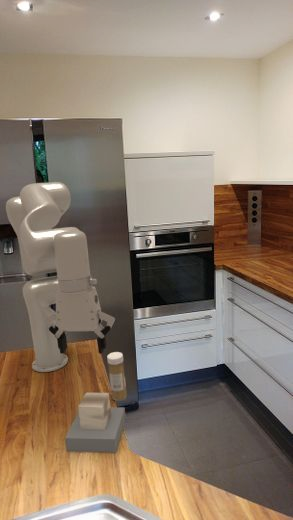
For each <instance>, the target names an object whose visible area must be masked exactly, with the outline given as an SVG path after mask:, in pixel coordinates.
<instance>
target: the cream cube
mask: <svg viewBox="0 0 293 520" xmlns="http://www.w3.org/2000/svg"><path fill="white" fill-rule="evenodd" d="M110 407H111V402H110V392H86V393H84V396H83V397H82V399H81V401H80V403H79V404H78V411H79V418H80V426H81V429H96V430H105V428H106V426H107V423H108V421H109V418H110V416H111V409H110Z"/></svg>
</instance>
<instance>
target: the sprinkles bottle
mask: <svg viewBox="0 0 293 520" xmlns="http://www.w3.org/2000/svg"><path fill="white" fill-rule="evenodd" d="M106 358H107V364H108V373H109V375H108V376H109V383H110V389H111V390H110V391H111V399H112V400H113V401H116V402H121V401H123V400H126V398H128V393H127V387H126V386H127V385H126V384H127V383H126V376H125V368H124V355H123V352H119V351H114V352H110V353H109V354H107V357H106Z"/></svg>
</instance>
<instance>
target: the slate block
mask: <svg viewBox="0 0 293 520" xmlns="http://www.w3.org/2000/svg"><path fill="white" fill-rule="evenodd" d="M110 409H111V416H110V418H109V421H108V423H107V426H106V428H105V430H96V429H81V426H80V418H79V410H78V412H77V413H76V415H75V418H74V420H73V421H72V424H70V427H69V430H68V431H67V433H66V434H65V437H64V440H65V448H66V449H65V450H66V452H74V453H77V452H78V453H111V454H112V453H113V454H114V453H115V454H116V453H117V451H118V449H119V445H120V441H121V437H122V434H123V430H124V427H125V423H126V410H125V409H126V408H125V407H121V406H120V407H113V406H110Z"/></svg>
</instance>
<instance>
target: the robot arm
mask: <svg viewBox="0 0 293 520" xmlns="http://www.w3.org/2000/svg"><path fill="white" fill-rule="evenodd" d="M71 202H72V199H71V192H70V190H69V188H68V187H67V185H66V184H65V183H63V182H61V181H51V182H36V183H35V182H34V183H29V184H26V185H25V186H23V187H22V189H21V190H20V193H19V196H14V197H11V198H10V199H8V200H7V201H6V203H5V211H6V215H7V219H8V221H9V223H10V225H11V226H12V228H13V231H14V232H15V234H16V236H17V242H18V246H19V252H20V257H21V264H22V268H23V270H24V271H23V272H24V273H25V274H26V275H28V276H39V275H45V274H46V275H47V274H52V273H56V275H53V276H46V277H40V278H36V279H32V280H29V281H27V282H25V284H24V285H23V287H22V295H23V299H24V302H25V304H26V308H27V313H28V317H29V324H30V331H31V338H32V344H33V350H34V356H35V358H34V359H35V360H33V362H31V368H32V370H33V371H35V372H39V373H49V372H54V371H57V370H60V369H62V368H63V367H64V366H66V365H67V363H68V362H69V357H68V356H67V354H65V352H66V351H67V350H68V339H67V335H66V332H93V333H95V334H96V335H97V336H98V337H97V338H96V339H97V340H96V341H97V349H98V350H97V351H98V353H99V355H100V354H103V353H104V350H105V349H106V348H107V339H106V338H107V337H106V335H107V334H108V333H109V332H110V331H111V329H112V326H113V325H114V323H115V320H116V318H115V317H114V316H112V315H110V314H107V313H105V312H103V311H102V308H101V304H100V299H99V295H98V292H97V289H96V287H95V286H93V285H97V284H98V280H97V278H94V277H92V274H91V269H90V259H89V258H90V257H89V251H88V249H89V248H88V240H87V239H88V238H87V235H86V233H85V232H83V231H81V230H80V229H78V227H75V226H69V227H68V226H66V227H60V228H59V227H58V228H57V227H56V225H57V224H58V223H59V222H60V219H61V217H62V216H63V215H64V214H65V213H66V212H67V210H69V207H70V205H71ZM55 227H56V228H55ZM54 304H55V310H53V308H51V307H50V305H54ZM103 321H104V322H106V326H105V327H104V326H103V325H102V322H103Z"/></svg>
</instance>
